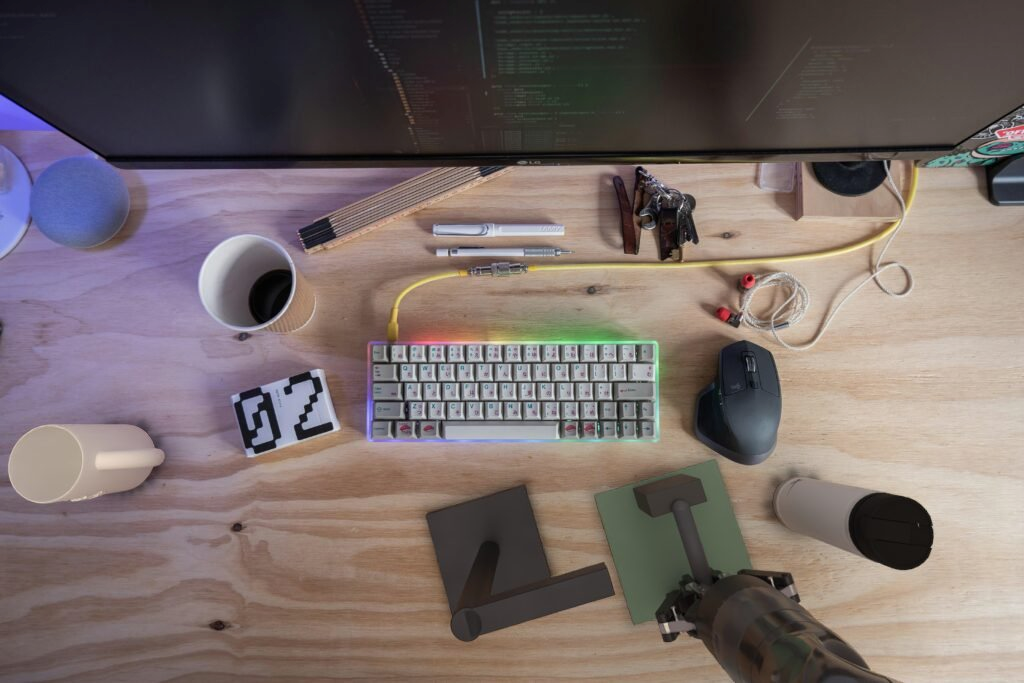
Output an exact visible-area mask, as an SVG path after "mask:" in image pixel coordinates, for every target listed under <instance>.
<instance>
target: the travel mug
mask: <svg viewBox="0 0 1024 683" xmlns="http://www.w3.org/2000/svg"><path fill="white" fill-rule="evenodd" d="M772 498H773V499H772V507H773V512H774V514H775V516H776V518H777V519H778V521H779V522H780V523H781V524H782V525H783V526H784V527H786V528H787V529H789V530H792V531H794V532H796V533H799V534H801V535H804V536H806V537H809V538H812V539H813V540H817V541H819V542H821V543H824V544H827V545H828V546H829V545H830V546H832V547H834V548H837V549H840V550H842V551H845V552H847V553H850V554H852V555H855V556H858V557H860V558H863V559H865V560H867V561H871V562H873V563H876V564H880V565H881V566H885V567H887V568H890V569H893V570H895V571H911V570H914V569H916V568H918V567H920V566H921V565H923V564H924V563H926V561H927V560H928V559H929V558H930V555H931V553H932V550H933V545H934V538H935V534H934V532H935V531H934V528H933V527H934V524H933V520H932V516H931V514H930V513H929V512H928V510H927V509H926V507H924V506H923V505H922V504H921V503H920V502H919V501H917V500H915V499H913V498H911V497H908V496H904V495H901V494H900V495H899V494H894V493H891V492H887V491H880V490H876V489H871V488H865V487H859V486H855V485H850V484H849V485H848V484H843V483H837V482H832V481H828V480H827V481H826V480H822V479H815V478H810V477H806V476H792V477H789V478H786V479H785V480H783V481H782V482H781V483H780V484H778V486H777V487H776V489H775V491H774V494H773V497H772Z"/></svg>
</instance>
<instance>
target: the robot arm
mask: <svg viewBox="0 0 1024 683" xmlns="http://www.w3.org/2000/svg"><path fill="white" fill-rule="evenodd" d="M710 570H711V573H712V576H713V580H714V584H713V585H712V586H711V587H710V588H709V587H708V586H706V585H705V584H703V583H702V584H698V583H697V581H696V580H694V579H693V578H692V577H691V576H690V575H689V574H686V575H682V579H683V580H682V581H679V586H680V589H681V590H677V589H675V590H673V591H671V592H670V593H669V594H668V595H667V597H666V598H665V600H664V601H663V602H662V604H661V605H660V607H659V608H658V610H657V611H656V612H655V616H656V619H655V620H656V622H657V626H658V629H659V632H660V635H661V639H662V641H663V643H667V644H668V643H673V642H674V641H676V640H677V639H678V637H679V636H682V635H684V633H686V631H688V632H689V634H690V635H691V636H692V637H691V638H694V639H697V640H701V642H702V643H703V645H704V646H705V647H706V649H707V650H708V652H709V653H710V654H711V655H712V657H713V658H714V659H715V660H716V661H717V663H718V664H719V665H720V667H721V669H723V670H724V671H725V673H726V674H727V675H728V676H729V678H730V679H731V680H732V682H733V683H905V682H903V681H902V680H898V679H895V678H892V677H889V676H887V675H884V674H881V673H879V672H876V671H875V670H874V671H873V670H871V668H870V666H869V664H868V663H867V662H866V660H865V658H864V657H863V656H862V655H861V654H860V652H858V650H856V648H855V647H853V645H852V644H851V643H850V642H848V641H847V640H845V639H844V638H843V637H842V636H841V635H839V634H838V633H837V632H835V631H834V630H833V629H831V628H829V627H828V626H827V625H825V624H823V623H822V622H820V621H818V620H817V618H815V617H814V615H813V614H811V612H810V611H809V610H807V609H806V608H805V607H804V606H803V605H801V604H800V603H801V598H800V594H799V591H798V588H797V585H796V583H795V580H794V577H793V574H792V573H791V572H788V571H787V572H786V571H776V570H765V569H753V570H752V569H741V570H739V571H738V572H737V574H738V575H734V574H733V575H731V574H730V573H723V572H721V571H720V570H714V569H712V568H711V567H710Z"/></svg>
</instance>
